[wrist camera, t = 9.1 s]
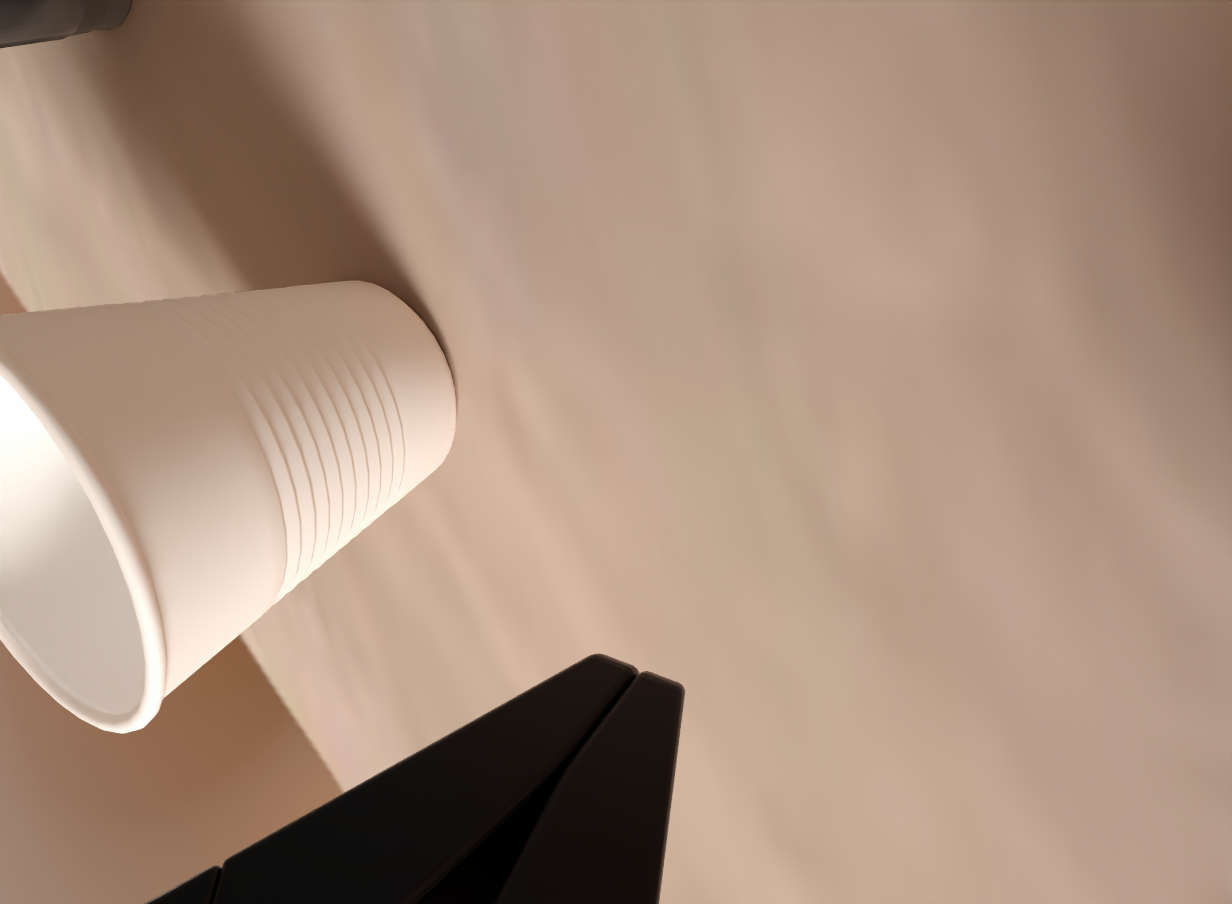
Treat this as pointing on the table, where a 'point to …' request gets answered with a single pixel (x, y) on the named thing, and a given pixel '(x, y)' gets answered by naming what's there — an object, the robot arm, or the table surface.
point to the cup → (195, 472)
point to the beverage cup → (56, 19)
